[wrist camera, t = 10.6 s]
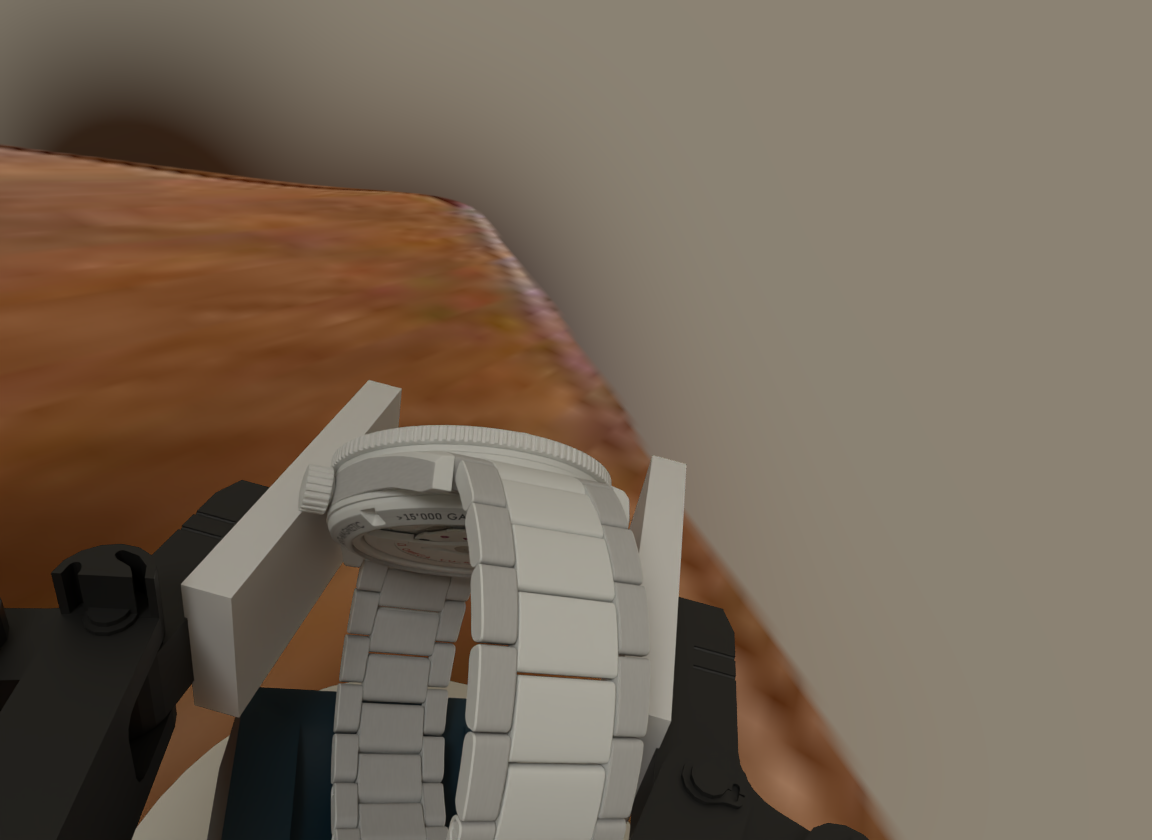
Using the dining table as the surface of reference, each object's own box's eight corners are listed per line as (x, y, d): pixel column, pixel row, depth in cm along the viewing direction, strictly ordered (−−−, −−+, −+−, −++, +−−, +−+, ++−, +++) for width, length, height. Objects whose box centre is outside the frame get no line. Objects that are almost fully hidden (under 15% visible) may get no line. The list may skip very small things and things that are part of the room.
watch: (455, 698, 19) (645, 376, 14) (489, 1097, 13) (853, 809, 8) (228, 686, 17) (346, 293, 12) (144, 1161, 11) (306, 816, 5)
